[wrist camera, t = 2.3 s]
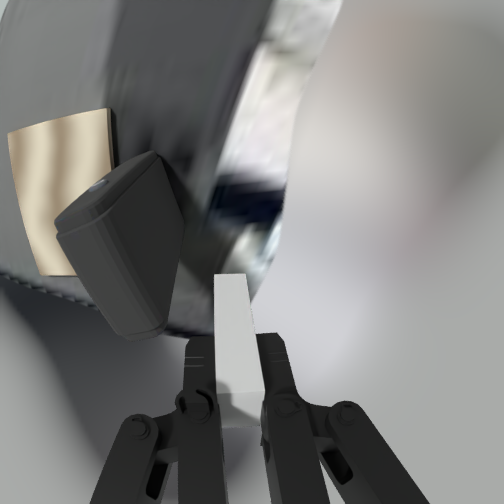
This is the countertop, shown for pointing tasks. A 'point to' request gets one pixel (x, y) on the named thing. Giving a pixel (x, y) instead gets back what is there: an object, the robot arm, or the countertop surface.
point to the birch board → (57, 176)
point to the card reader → (126, 245)
